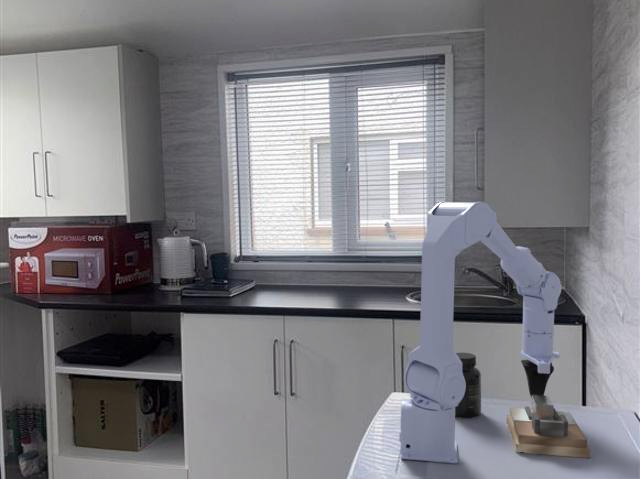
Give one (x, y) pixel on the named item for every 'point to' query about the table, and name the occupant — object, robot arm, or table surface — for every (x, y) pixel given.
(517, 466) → the table surface
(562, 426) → the lock board
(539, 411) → the bolt
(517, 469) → the table surface
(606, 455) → the table surface
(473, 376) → the supplement bottle
